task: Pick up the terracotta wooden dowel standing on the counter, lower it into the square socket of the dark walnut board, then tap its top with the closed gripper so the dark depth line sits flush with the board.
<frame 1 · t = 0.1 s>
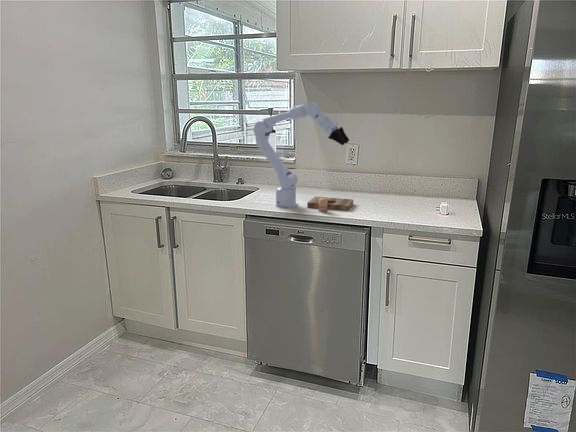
hand: (346, 142, 195), 32 cm above the worktop, tool tilted 50°, fingers open, 7 cm apart
dowel: (322, 211, 201), on the worktop
socket board: (330, 205, 211), on the worktop
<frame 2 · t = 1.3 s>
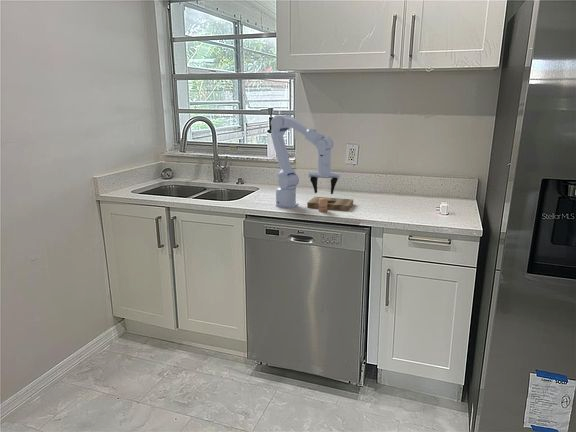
hand: (323, 193, 199), 9 cm above the worktop, tool pointing down, fingers open, 7 cm apart
nothing on the worktop moved.
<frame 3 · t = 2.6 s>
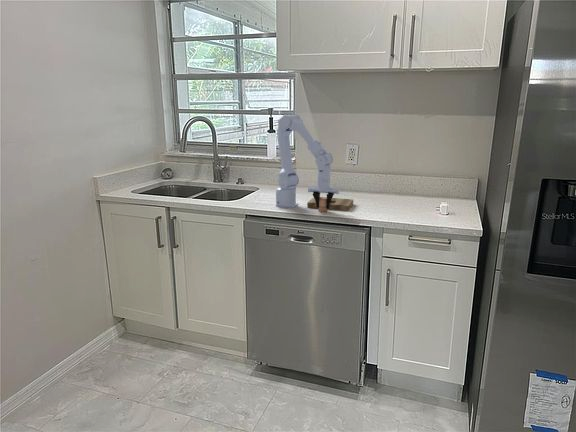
hand: (323, 207, 200), 2 cm above the worktop, tool pointing down, fingers closed on dowel, 4 cm apart
dowel: (322, 211, 201), on the worktop, touching gripper
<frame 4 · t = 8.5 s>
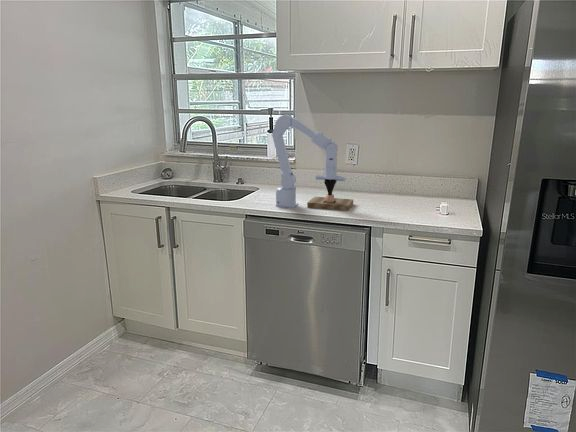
hand: (330, 194, 208), 6 cm above the worktop, tool pointing down, fingers closed, pressing on dowel
dowel: (329, 206, 209), resting in socket board, touching gripper
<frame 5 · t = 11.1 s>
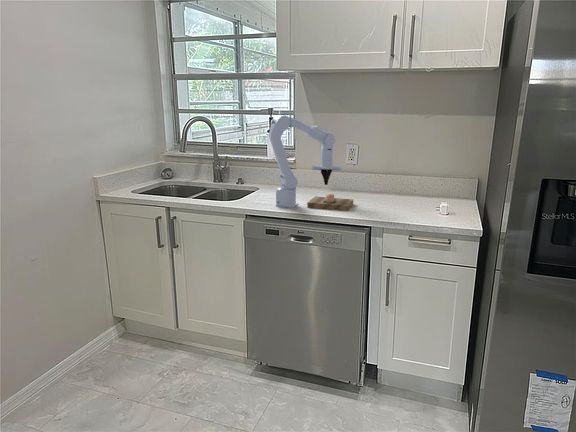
hand: (326, 184, 215), 9 cm above the worktop, tool pointing down, fingers closed
dowel: (329, 206, 209), resting in socket board
at the end: dowel 0.0 cm from the target spot on the socket board, point 0.0 cm above the socket board's base; dowel tilted 0°; the gripper is holding nothing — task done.
